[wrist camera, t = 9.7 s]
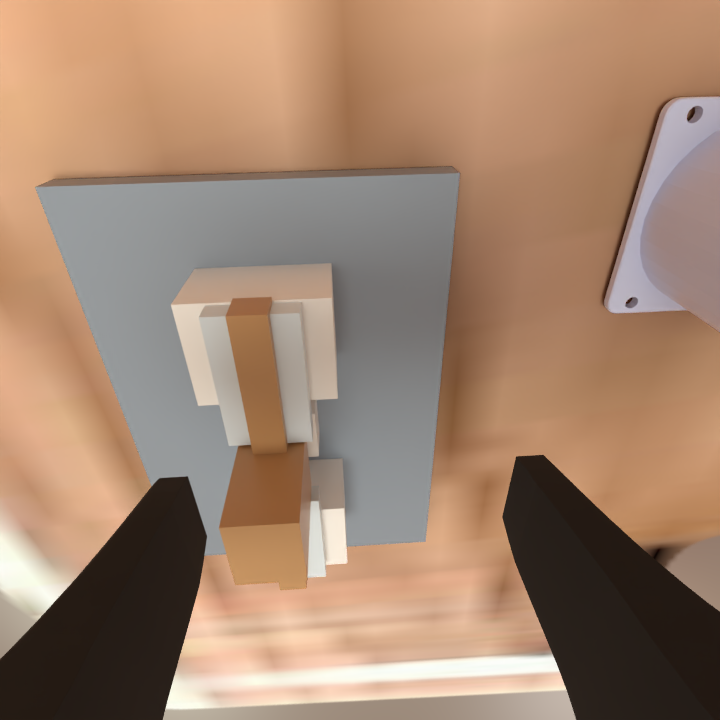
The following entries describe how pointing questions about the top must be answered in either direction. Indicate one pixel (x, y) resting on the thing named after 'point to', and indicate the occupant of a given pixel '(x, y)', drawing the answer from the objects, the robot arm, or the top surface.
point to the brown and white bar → (266, 441)
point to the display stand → (284, 284)
